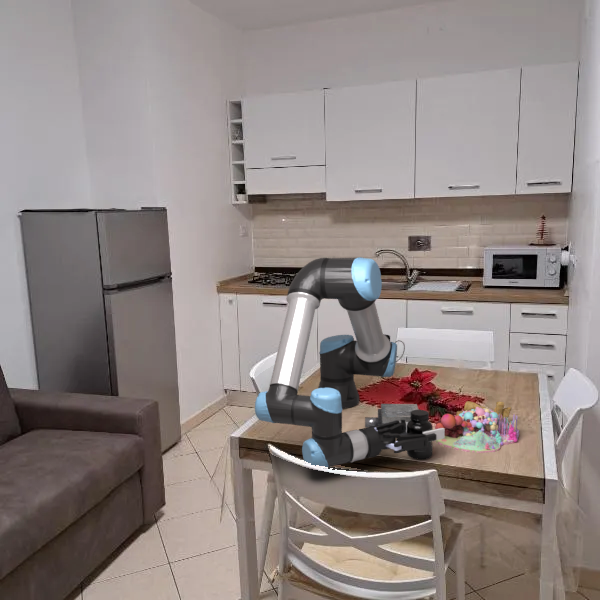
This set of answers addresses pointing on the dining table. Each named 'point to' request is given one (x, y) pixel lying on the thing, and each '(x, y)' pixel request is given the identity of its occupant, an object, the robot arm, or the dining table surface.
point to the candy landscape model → (478, 428)
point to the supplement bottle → (419, 426)
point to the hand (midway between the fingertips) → (434, 428)
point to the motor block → (392, 414)
